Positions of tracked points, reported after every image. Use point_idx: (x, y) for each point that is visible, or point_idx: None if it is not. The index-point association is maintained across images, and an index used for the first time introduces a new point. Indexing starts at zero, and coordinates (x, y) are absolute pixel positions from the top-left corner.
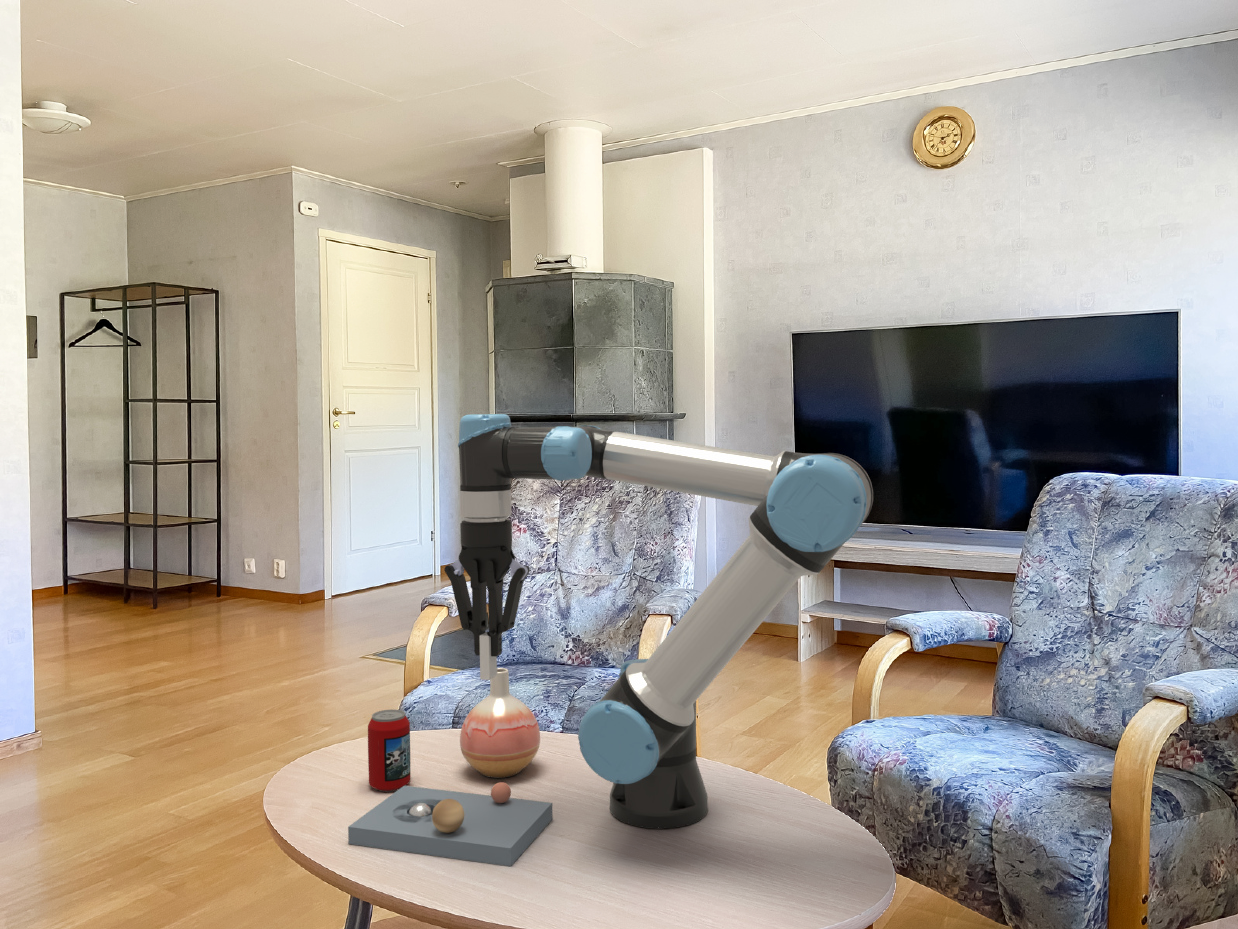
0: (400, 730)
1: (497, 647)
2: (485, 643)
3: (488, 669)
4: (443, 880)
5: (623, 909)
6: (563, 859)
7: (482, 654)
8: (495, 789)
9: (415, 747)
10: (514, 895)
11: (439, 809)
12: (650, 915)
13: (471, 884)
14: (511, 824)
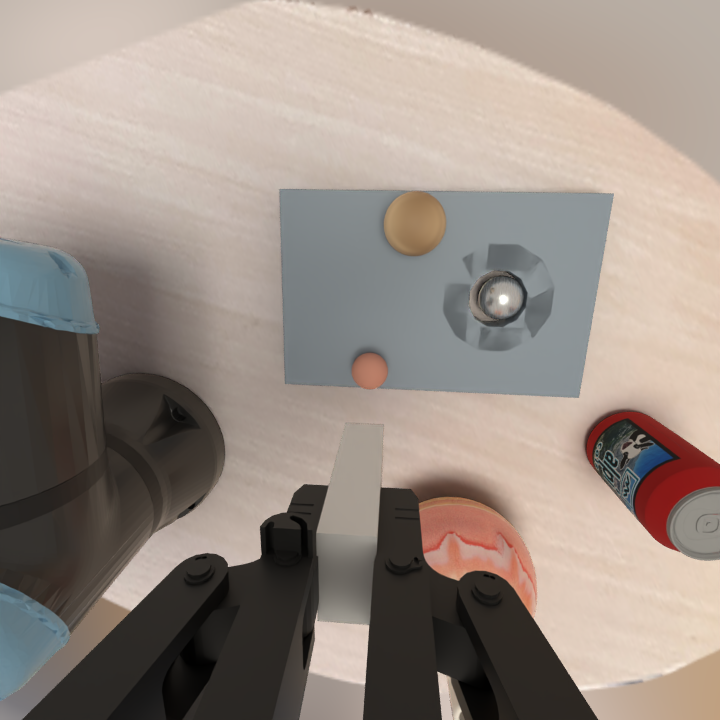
0: (653, 486)
1: (290, 509)
2: (343, 507)
3: (345, 442)
4: (373, 112)
5: (72, 103)
6: (219, 241)
7: (366, 474)
8: (374, 360)
9: (639, 604)
10: (241, 96)
11: (424, 199)
12: (30, 97)
13: (322, 112)
14: (316, 283)
